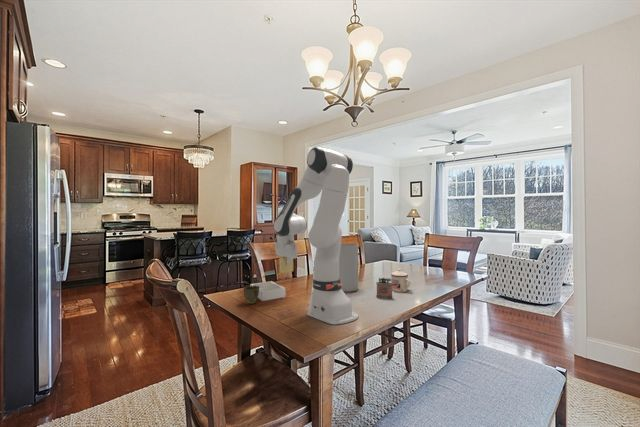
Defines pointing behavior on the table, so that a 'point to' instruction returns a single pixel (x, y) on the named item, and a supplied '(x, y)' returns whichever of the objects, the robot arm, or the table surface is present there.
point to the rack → (269, 290)
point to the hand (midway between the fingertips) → (286, 265)
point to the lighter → (384, 288)
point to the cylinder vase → (348, 267)
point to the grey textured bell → (251, 293)
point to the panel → (283, 265)
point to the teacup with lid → (400, 281)
